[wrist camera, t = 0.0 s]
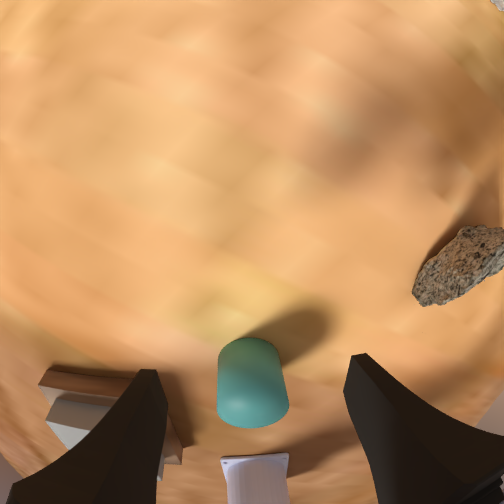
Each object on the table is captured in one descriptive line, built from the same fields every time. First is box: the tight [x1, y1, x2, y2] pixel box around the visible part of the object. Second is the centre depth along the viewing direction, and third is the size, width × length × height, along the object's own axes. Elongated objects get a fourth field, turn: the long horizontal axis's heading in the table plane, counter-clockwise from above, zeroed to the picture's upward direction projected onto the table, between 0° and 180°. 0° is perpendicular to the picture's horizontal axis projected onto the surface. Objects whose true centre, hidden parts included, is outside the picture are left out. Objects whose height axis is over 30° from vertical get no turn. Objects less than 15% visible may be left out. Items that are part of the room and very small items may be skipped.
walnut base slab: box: [38, 370, 183, 465], centre depth 24 cm, size 12×12×3 cm
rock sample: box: [412, 225, 504, 333], centre depth 17 cm, size 10×8×9 cm
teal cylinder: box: [217, 338, 289, 428], centre depth 20 cm, size 5×5×5 cm
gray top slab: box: [45, 398, 165, 481], centre depth 21 cm, size 9×9×3 cm
